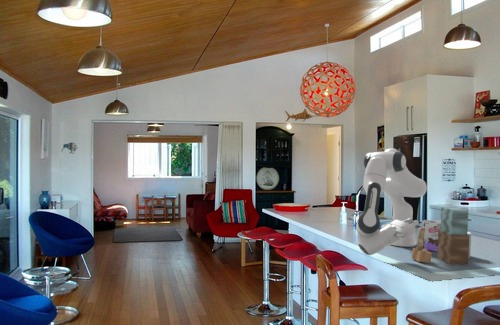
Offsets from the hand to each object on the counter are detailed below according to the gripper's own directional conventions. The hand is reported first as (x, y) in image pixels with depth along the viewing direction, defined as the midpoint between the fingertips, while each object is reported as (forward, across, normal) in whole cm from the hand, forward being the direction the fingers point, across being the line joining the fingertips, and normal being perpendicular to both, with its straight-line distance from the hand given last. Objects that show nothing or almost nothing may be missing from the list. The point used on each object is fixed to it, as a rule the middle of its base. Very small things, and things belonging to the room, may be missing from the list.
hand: (414, 220), depth 236 cm
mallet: (-4, 0, +11) cm, 12 cm away
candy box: (+11, +26, +30) cm, 41 cm away
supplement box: (+18, +12, +34) cm, 40 cm away
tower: (+8, 0, +27) cm, 28 cm away
